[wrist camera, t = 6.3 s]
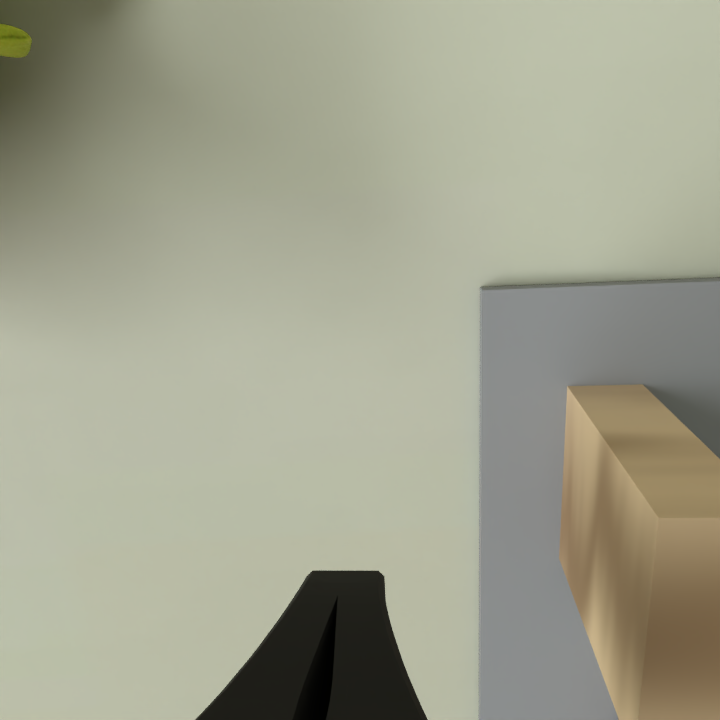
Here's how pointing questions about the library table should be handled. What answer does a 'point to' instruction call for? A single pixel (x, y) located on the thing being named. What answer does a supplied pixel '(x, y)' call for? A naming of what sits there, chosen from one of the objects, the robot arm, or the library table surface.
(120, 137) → the library table surface
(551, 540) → the felt mat
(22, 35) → the bird rattle
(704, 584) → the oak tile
